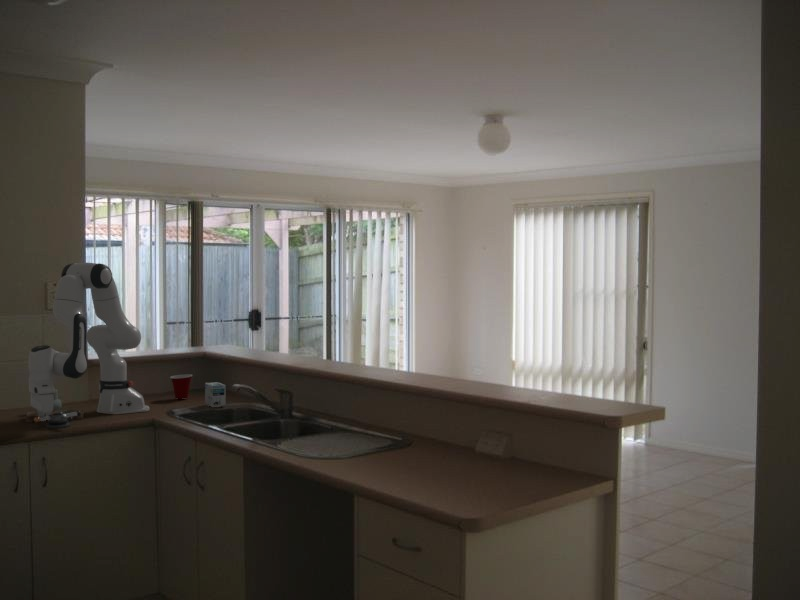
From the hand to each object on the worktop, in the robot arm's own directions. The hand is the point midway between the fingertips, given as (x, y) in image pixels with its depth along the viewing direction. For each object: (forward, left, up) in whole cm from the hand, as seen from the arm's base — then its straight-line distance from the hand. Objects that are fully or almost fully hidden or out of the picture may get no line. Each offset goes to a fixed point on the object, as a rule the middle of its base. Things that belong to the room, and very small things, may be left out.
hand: (41, 420), depth 304 cm
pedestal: (-6, -2, -3) cm, 7 cm away
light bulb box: (-74, -28, -3) cm, 79 cm away
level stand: (-5, -20, -3) cm, 20 cm away
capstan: (-6, -2, -2) cm, 6 cm away
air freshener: (-3, -36, -3) cm, 36 cm away
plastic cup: (-62, -53, -3) cm, 81 cm away
